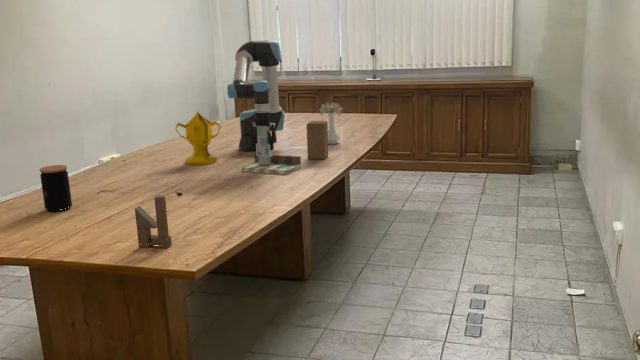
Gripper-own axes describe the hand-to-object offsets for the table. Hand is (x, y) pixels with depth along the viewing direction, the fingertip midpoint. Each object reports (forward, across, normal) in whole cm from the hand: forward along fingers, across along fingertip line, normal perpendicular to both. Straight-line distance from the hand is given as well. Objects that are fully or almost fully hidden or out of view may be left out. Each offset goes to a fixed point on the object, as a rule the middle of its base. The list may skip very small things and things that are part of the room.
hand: (264, 155), depth 331 cm
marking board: (+7, +4, 0) cm, 8 cm away
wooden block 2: (+7, +20, -116) cm, 118 cm away
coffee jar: (+7, -50, -92) cm, 105 cm away
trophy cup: (+7, -43, +5) cm, 44 cm away
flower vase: (+7, +6, +75) cm, 75 cm away
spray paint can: (+4, 0, 0) cm, 4 cm away
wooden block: (+7, +16, +33) cm, 37 cm away
